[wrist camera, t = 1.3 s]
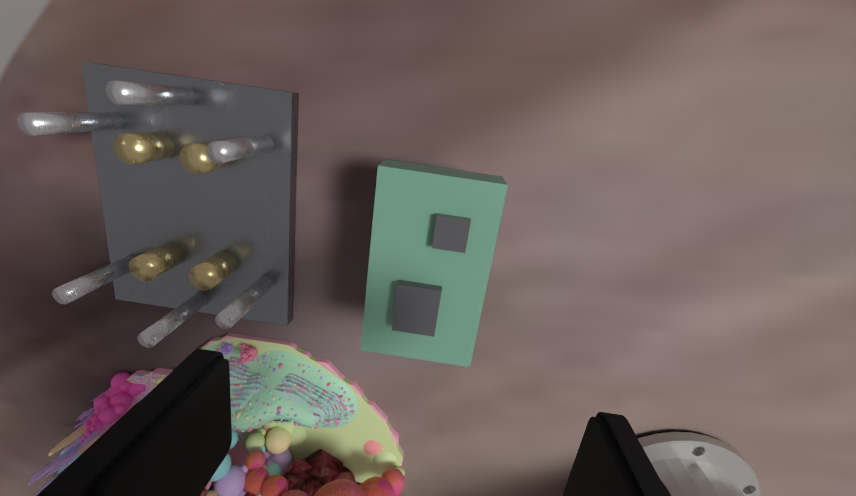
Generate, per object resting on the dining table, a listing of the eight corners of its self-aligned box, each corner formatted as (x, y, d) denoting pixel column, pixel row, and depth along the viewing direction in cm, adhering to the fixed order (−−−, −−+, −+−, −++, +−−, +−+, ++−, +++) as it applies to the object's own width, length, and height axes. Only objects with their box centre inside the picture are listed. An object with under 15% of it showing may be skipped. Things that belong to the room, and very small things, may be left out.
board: (468, 342, 24) (470, 374, 21) (369, 327, 24) (357, 356, 21) (501, 176, 20) (509, 187, 17) (386, 159, 20) (375, 167, 18)
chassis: (292, 318, 28) (252, 371, 22) (126, 292, 28) (44, 339, 22) (298, 93, 23) (248, 88, 17) (96, 63, 23) (-20, 48, 17)
